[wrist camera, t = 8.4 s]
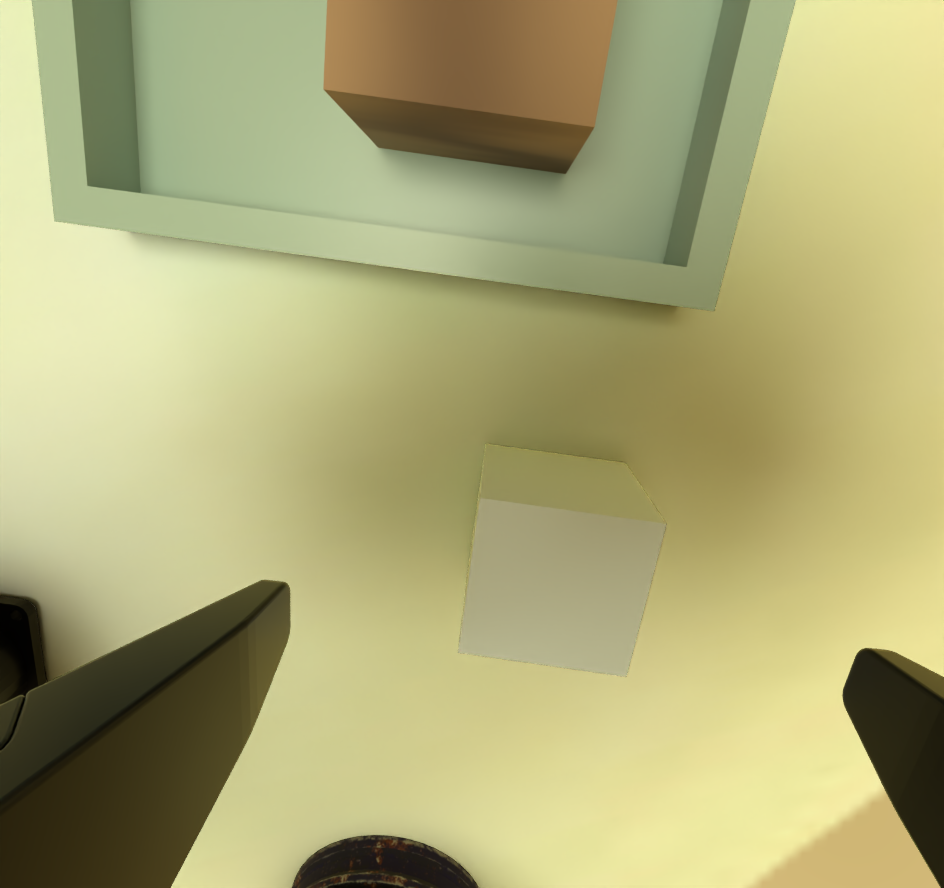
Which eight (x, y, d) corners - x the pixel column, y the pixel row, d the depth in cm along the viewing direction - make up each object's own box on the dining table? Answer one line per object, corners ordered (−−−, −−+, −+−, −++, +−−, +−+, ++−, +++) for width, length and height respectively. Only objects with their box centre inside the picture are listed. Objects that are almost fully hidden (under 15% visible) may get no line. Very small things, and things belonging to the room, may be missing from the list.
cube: (597, 583, 20) (626, 676, 16) (468, 565, 20) (458, 652, 16) (625, 462, 19) (666, 523, 14) (485, 442, 19) (479, 497, 14)
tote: (678, 305, 17) (714, 311, 14) (128, 230, 17) (54, 221, 14) (795, -180, 13) (874, -304, 11) (97, -267, 14) (-11, -412, 11)
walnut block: (605, -60, 14) (661, -241, 9) (565, 173, 15) (594, 127, 11) (395, -89, 14) (339, -283, 9) (378, 147, 15) (323, 89, 11)
